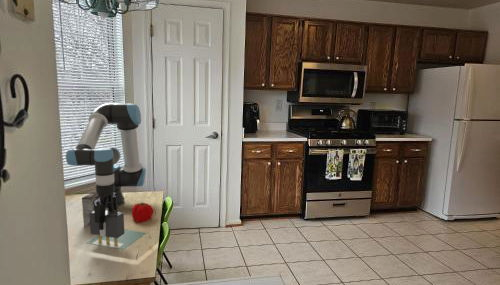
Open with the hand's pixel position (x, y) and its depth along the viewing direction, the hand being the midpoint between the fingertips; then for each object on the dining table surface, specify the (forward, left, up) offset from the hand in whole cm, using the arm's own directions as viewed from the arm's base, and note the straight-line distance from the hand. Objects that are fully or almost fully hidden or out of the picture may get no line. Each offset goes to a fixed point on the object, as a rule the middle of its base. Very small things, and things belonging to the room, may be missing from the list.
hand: (107, 233), depth 149 cm
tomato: (-31, -2, -7) cm, 31 cm away
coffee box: (-19, -23, -7) cm, 30 cm away
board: (-7, 0, -7) cm, 9 cm away
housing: (0, 0, 0) cm, 0 cm away
